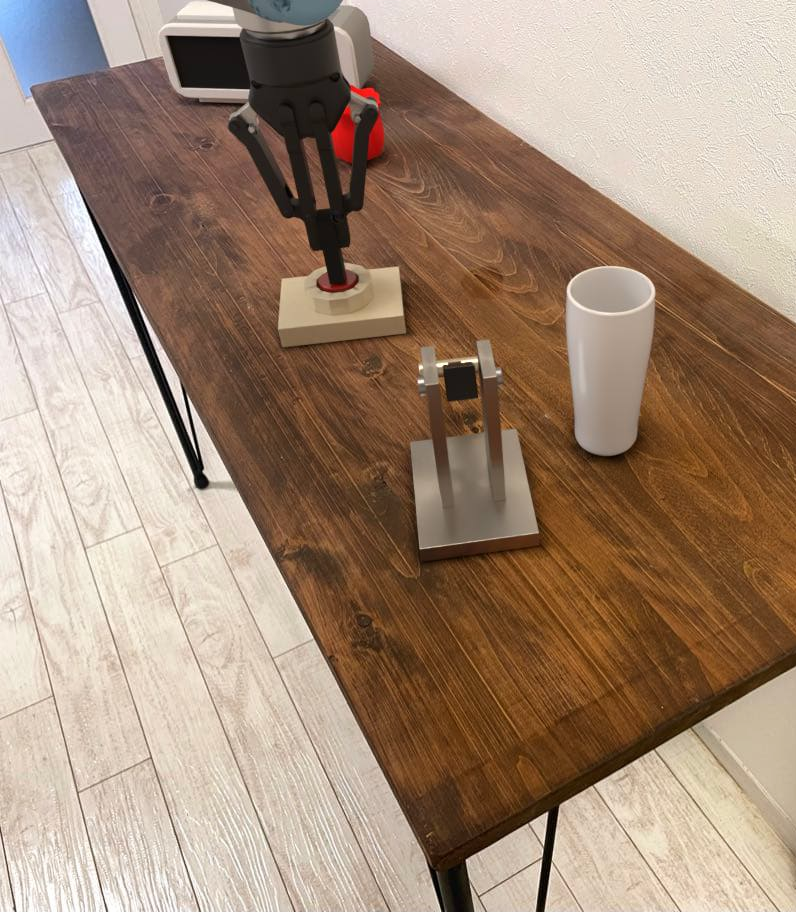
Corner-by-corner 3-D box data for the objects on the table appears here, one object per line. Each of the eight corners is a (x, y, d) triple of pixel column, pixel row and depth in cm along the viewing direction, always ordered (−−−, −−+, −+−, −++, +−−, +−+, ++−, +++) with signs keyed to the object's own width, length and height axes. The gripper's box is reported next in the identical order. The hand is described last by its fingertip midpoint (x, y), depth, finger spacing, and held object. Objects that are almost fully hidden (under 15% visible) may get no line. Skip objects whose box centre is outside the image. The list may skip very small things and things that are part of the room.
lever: (421, 384, 78) (417, 356, 78) (491, 376, 79) (487, 348, 78) (420, 405, 64) (415, 371, 64) (505, 395, 65) (501, 361, 65)
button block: (282, 347, 89) (273, 313, 87) (286, 296, 96) (277, 263, 93) (406, 333, 91) (401, 299, 88) (401, 284, 97) (396, 250, 94)
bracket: (412, 454, 78) (390, 319, 69) (517, 441, 79) (509, 306, 69) (421, 562, 69) (398, 425, 60) (539, 545, 70) (534, 408, 61)
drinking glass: (550, 431, 80) (547, 282, 69) (613, 402, 82) (620, 255, 72) (596, 476, 76) (601, 326, 65) (661, 444, 78) (675, 294, 68)
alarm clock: (176, 105, 132) (150, 18, 124) (202, 80, 139) (178, -4, 131) (361, 111, 129) (347, 22, 121) (378, 85, 136) (366, -1, 128)
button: (321, 305, 90) (318, 290, 89) (322, 285, 93) (318, 270, 91) (358, 301, 90) (355, 286, 89) (358, 281, 93) (355, 266, 92)
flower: (395, 165, 117) (386, 103, 111) (335, 177, 115) (323, 114, 110) (379, 141, 122) (370, 80, 117) (322, 151, 120) (310, 90, 115)
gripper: (365, 1, 77) (402, 248, 94) (206, 14, 76) (271, 262, 92) (368, 32, 72) (406, 289, 88) (197, 46, 71) (267, 304, 87)
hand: (337, 275), depth 90 cm, fingers closed
